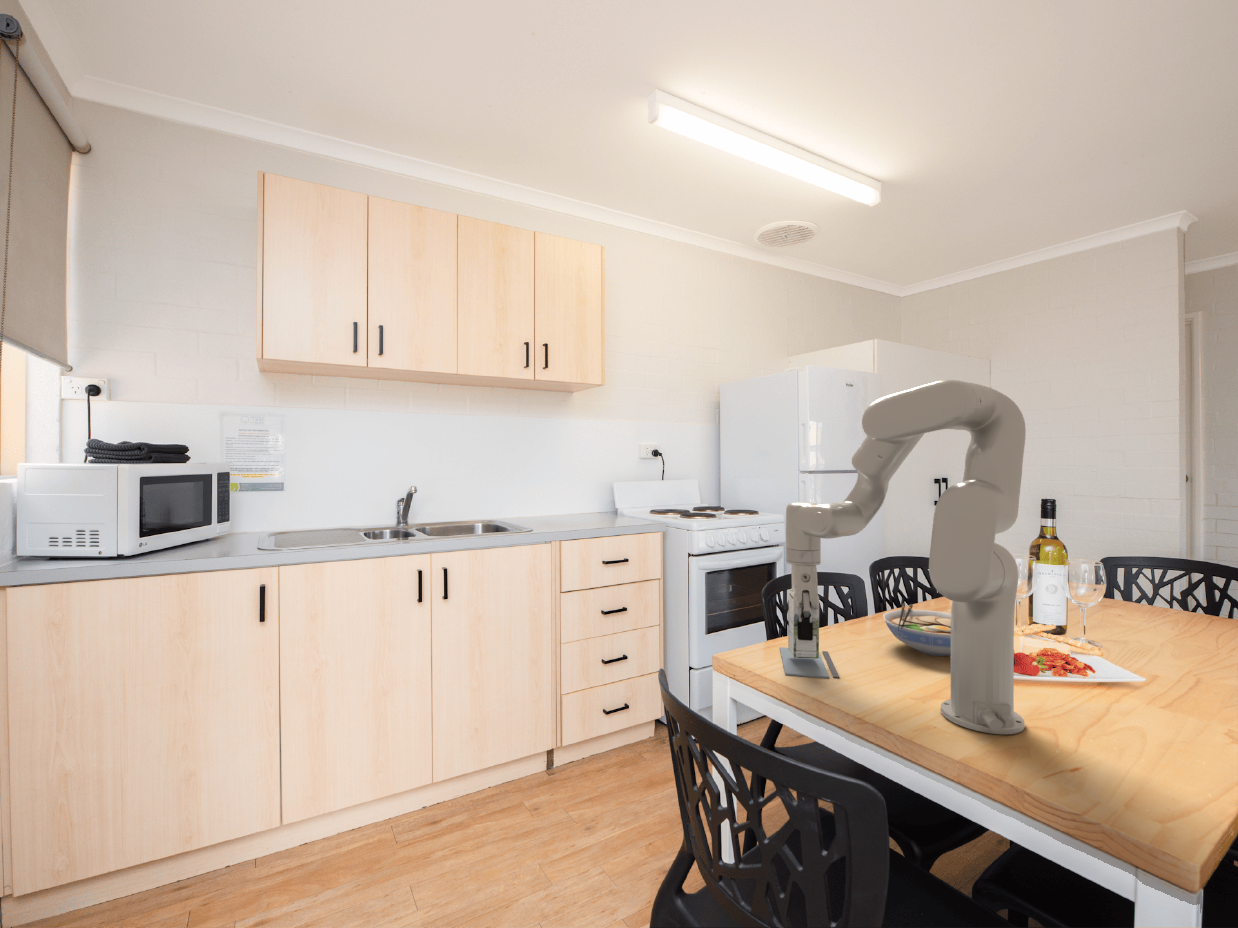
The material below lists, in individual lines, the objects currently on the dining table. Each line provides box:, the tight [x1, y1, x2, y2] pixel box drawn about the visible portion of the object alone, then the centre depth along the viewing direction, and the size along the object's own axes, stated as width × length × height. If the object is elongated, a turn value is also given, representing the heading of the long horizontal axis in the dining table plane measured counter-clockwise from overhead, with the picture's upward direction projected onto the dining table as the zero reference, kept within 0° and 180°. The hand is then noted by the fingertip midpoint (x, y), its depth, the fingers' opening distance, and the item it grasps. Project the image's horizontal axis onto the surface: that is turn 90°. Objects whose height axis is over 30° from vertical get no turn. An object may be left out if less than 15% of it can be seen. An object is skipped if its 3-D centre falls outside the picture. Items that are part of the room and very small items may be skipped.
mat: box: [779, 646, 830, 679], centre depth 132 cm, size 18×9×1 cm, turn 168°
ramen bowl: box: [882, 602, 951, 657], centre depth 140 cm, size 25×23×8 cm
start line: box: [822, 650, 840, 679], centre depth 131 cm, size 17×1×1 cm, turn 168°
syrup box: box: [787, 589, 820, 659], centre depth 132 cm, size 6×6×14 cm
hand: (803, 634), depth 132 cm, fingers closed on syrup box, 6 cm apart
